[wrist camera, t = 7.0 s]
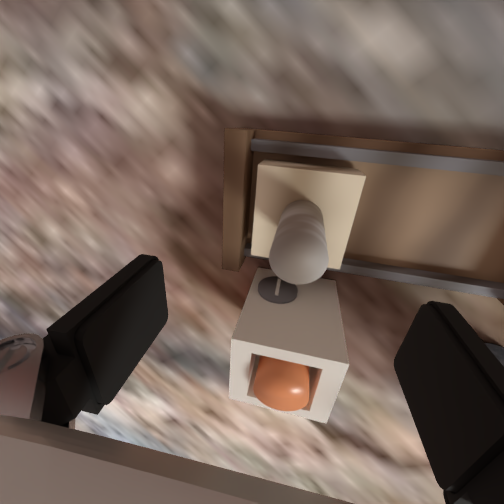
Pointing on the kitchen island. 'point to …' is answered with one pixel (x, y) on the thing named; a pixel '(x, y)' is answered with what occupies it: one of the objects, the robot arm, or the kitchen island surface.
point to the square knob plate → (304, 217)
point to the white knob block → (291, 339)
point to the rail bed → (387, 206)
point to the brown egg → (281, 384)
